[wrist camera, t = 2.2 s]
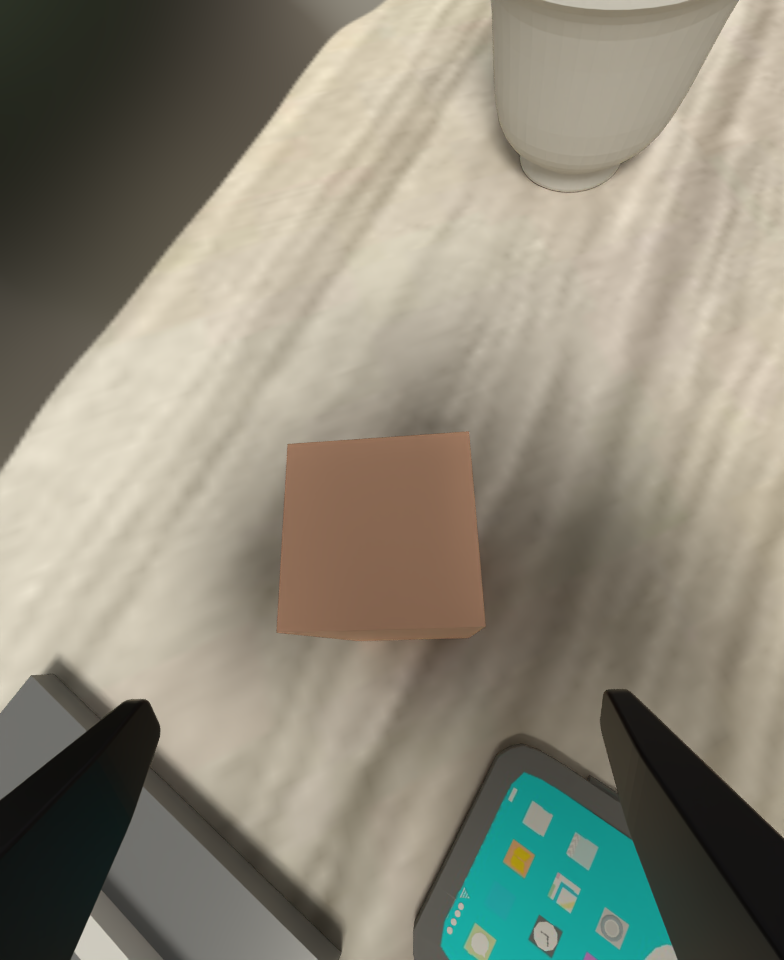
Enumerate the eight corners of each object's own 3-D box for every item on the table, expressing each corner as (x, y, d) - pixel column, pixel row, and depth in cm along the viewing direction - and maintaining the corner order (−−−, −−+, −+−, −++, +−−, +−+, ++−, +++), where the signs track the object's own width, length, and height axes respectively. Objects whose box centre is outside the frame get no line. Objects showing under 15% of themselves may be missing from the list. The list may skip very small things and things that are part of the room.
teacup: (729, 85, 28) (868, -196, 19) (629, 264, 25) (739, 28, 15) (540, 44, 31) (578, -213, 22) (429, 197, 28) (418, -32, 19)
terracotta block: (460, 529, 21) (469, 431, 12) (468, 637, 19) (486, 626, 10) (358, 534, 21) (287, 444, 12) (358, 640, 20) (276, 632, 10)
